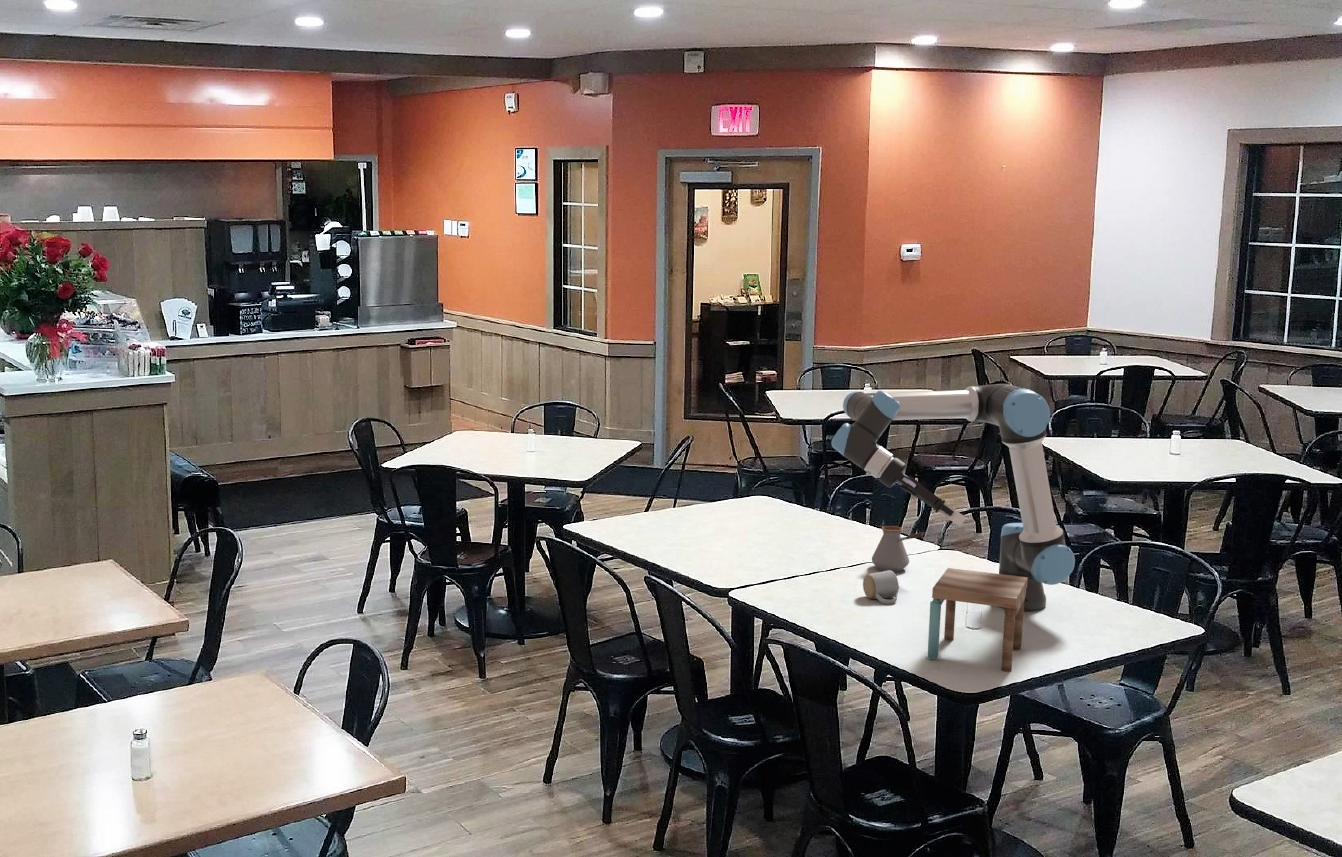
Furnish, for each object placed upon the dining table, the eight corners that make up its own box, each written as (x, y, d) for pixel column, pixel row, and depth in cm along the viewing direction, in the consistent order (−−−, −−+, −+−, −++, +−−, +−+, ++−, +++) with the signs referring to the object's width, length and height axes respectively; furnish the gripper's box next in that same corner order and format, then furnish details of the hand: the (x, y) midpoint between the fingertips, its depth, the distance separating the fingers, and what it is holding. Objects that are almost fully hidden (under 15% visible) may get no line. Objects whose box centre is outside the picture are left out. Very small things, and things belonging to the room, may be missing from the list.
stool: (944, 636, 337) (947, 567, 334) (1022, 647, 330) (1027, 577, 326) (928, 660, 319) (932, 588, 316) (1011, 672, 311) (1016, 598, 308)
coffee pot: (863, 566, 402) (865, 519, 400) (892, 562, 408) (894, 515, 406) (908, 584, 384) (911, 535, 382) (938, 579, 390) (940, 530, 387)
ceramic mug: (860, 595, 372) (861, 569, 371) (885, 592, 375) (886, 567, 374) (878, 606, 363) (880, 580, 361) (904, 603, 365) (906, 577, 364)
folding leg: (938, 638, 334) (941, 582, 331) (948, 640, 333) (951, 583, 330) (926, 658, 319) (929, 599, 317) (937, 659, 318) (940, 600, 316)
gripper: (877, 482, 339) (953, 535, 334) (877, 477, 326) (955, 532, 321) (894, 459, 339) (970, 512, 334) (894, 453, 327) (973, 508, 321)
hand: (962, 522), depth 328 cm, fingers closed
